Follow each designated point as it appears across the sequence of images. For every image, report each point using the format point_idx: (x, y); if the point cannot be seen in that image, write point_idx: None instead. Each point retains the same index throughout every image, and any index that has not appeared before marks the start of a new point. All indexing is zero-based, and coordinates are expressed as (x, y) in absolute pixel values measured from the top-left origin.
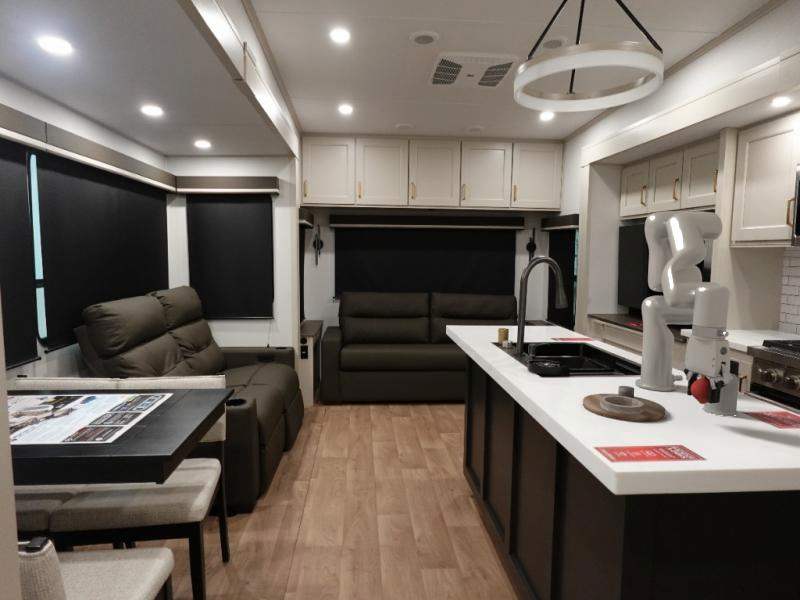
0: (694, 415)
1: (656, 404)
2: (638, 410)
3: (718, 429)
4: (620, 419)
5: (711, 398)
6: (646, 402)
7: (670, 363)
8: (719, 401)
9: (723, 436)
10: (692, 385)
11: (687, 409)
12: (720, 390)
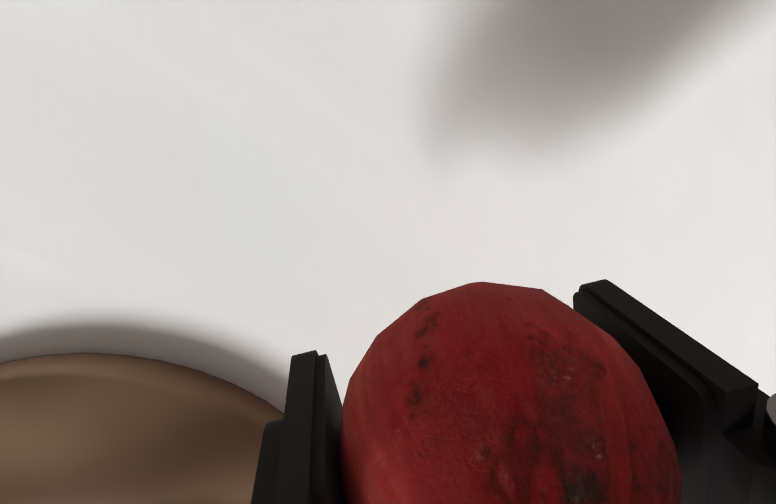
0: (195, 173)
1: (61, 401)
2: None
3: (503, 199)
4: None
5: None
6: (17, 445)
7: None
8: (609, 282)
9: (614, 252)
10: None
11: (16, 127)
12: (766, 396)
